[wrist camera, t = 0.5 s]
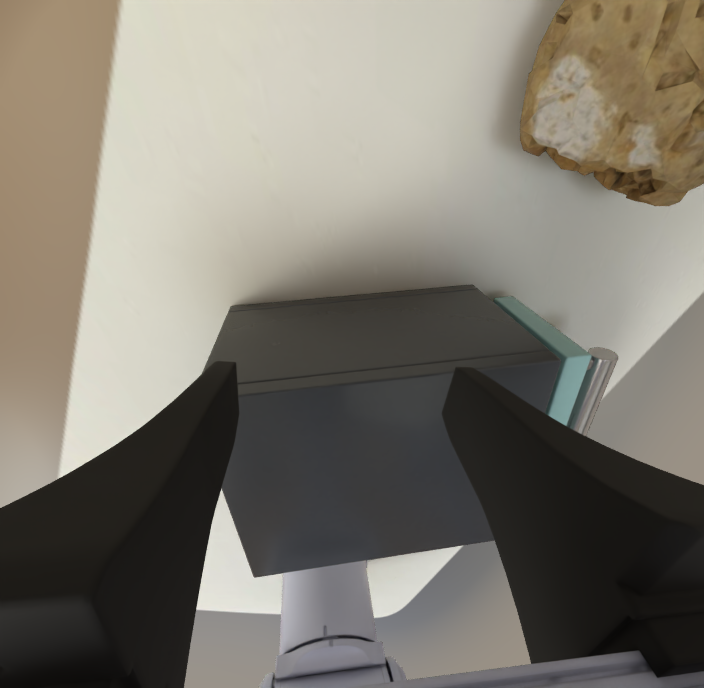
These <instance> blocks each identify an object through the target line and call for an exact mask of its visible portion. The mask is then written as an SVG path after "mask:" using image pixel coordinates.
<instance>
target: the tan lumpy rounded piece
mask: <svg viewBox="0 0 704 688" xmlns="http://www.w3.org/2000/svg"><path fill="white" fill-rule="evenodd" d="M520 141H521V144H522V147H523V150H524V151H526V152H529V153H531V154H534V155H536V156H540V155H541V154H542V153H543V152H544V151H546V152H547V153H548V154H549V156H550V157H551V158H552V159H553V160H554V161H555V163H556V164H557V165H558V166H559V167H560V168H561V169H564V170H572V171H578V172H579V173H581V174H582V175H584V176H585V175H587V174H589V173H592V172H594V177H595V178H596V179H597V180H598V181H599V182H600V183H601V184H602V185H603V186H605V187H606V188H607V189H608V190H611V189H612V190H614V191H617V192H620V193H623V194H626V195H627V197H626V198H628V199H631V200H634V201H638V202H644V203H647V204H651V205H654V206H670V205H673V204H676V203H678V202H680V201H681V200H682V198H683V197H684V196H685V194H686V193H687V192H688V191H689V190H691V189H693V188H695V187H698V186H700V185H702V184H703V183H704V0H565V1H564V2H563V4H562V5H561V7H560V8H559V10H558V11H557V13H556V14H555V16H554V18H553V20H552V22H551V24H550V26H549V28H548V30H547V32H546V34H545V36H544V38H543V40H542V42H541V44H540V46H539V49H538V52H537V55H536V59H535V62H534V66H533V69H532V72H530V73H529V76H528V81H527V87H526V92H525V98H524V104H523V110H522V116H521V121H520Z"/></svg>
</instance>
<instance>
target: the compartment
mask: <svg viewBox="0 0 704 688" xmlns="http://www.w3.org/2000/svg"><path fill="white" fill-rule="evenodd" d="M215 361H225V362H236V368H237V384H238V400H239V419H238V425H237V431H236V437H235V443H234V446H233V450H232V453H231V457H230V460H229V464H228V467H227V471H226V474H225V477H224V481H223V484H222V491H223V493H224V496H225V499H226V502H227V504H228V507H229V510H230V513H231V516H232V518H233V521H234V524H235V527H236V529H237V532H238V535H239V538H240V540H241V543H242V546H243V549H244V551H245V554H246V557H247V560H248V563H249V565H250V568H251V571H252V574H253V576H254V577H262V576H268V575H274V574H281V573H287V572H294V571H300V570H307V569H313V568H320V567H326V566H333V565H339V564H346V563H352V562H358V561H365V560H371V559H378V558H384V557H391V556H397V555H404V554H410V553H417V552H423V551H430V550H436V549H443V548H449V547H455V546H462V545H468V544H475V543H481V542H488V541H494V537H493V534H492V531H491V529H490V526H489V523H488V521H487V518H486V515H485V513H484V510H483V508H482V506H481V503H480V501H479V499H478V497H477V495H476V493H475V491H474V488H473V486H472V484H471V482H470V480H469V478H468V476H467V474H466V472H465V470H464V468H463V466H462V464H461V462H460V460H459V458H458V456H457V454H456V452H455V450H454V447H453V445H452V443H451V441H450V439H449V436H448V433H447V430H446V427H445V423H444V420H443V417H442V410H443V407H444V404H445V400H446V397H447V394H448V391H449V387H450V384H451V381H452V377H453V374H454V371H455V368H456V367H472V368H474V369H476V370H478V371H480V372H481V373H483V374H485V375H486V376H488V377H489V378H491V379H493V380H494V381H496V382H497V383H499V384H500V385H502V386H503V387H505V388H506V389H508V390H509V391H511V392H512V393H514V394H515V395H517V396H518V397H520V398H521V399H523V400H524V401H526V402H527V403H529V404H530V405H532V406H534V407H535V408H537V409H538V410H540V411H542V412H543V413H545V412H546V408H547V405H548V402H549V399H550V396H551V392H552V389H553V386H554V383H555V380H556V377H557V373H558V370H559V367H560V364H561V359H560V358H558V357H557V356H556V355H555V354H554V353H553V352H551V351H549V349H548V348H547V347H546V346H544V345H543V344H542V343H541V342H540V341H539V340H537V339H536V338H535V337H534V336H533V335H531V334H530V333H529V332H528V331H527V330H526V329H524V328H523V327H522V326H521V325H520V324H519V323H517V322H516V321H515V320H514V319H513V318H511V317H510V316H509V315H508V314H507V313H506V312H504V311H503V310H502V309H501V308H500V307H498V306H497V305H496V304H495V303H494V302H493V301H491V300H490V299H489V298H488V297H487V296H485V295H484V294H483V293H482V292H481V291H480V290H478V289H477V288H476V287H475V286H474V285H464V286H452V287H441V288H430V289H419V290H408V291H397V292H385V293H374V294H363V295H352V296H341V297H330V298H319V299H307V300H296V301H285V302H274V303H263V304H252V305H240V306H231V307H230V309H229V311H228V314H227V316H226V318H225V321H224V323H223V325H222V328H221V330H220V332H219V335H218V337H217V340H216V342H215V344H214V347H213V349H212V351H211V354H210V356H209V358H208V361H207V363H206V365H205V368H204V370H203V372H204V371H205V370H206V369H208V368H209V367H210V366H211V365H212V364H213V363H214V362H215ZM203 372H202V373H203Z"/></svg>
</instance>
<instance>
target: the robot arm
mask: <svg viewBox="0 0 704 688" xmlns="http://www.w3.org/2000/svg"><path fill="white" fill-rule="evenodd" d="M442 417H443V420H444V423H445V427H446V430H447V433H448V436H449V439H450V441H451V443H452V445H453V447H454V450H455V452H456V454H457V456H458V458H459V460H460V462H461V464H462V466H463V468H464V470H465V472H466V474H467V476H468V478H469V480H470V482H471V484H472V486H473V488H474V491H475V493H476V495H477V497H478V499H479V501H480V503H481V506H482V508H483V510H484V513H485V515H486V518H487V521H488V523H489V526H490V529H491V531H492V534H493V537H494V540H495V542H496V545H497V548H498V551H499V554H500V557H501V560H502V563H503V566H504V569H505V572H506V575H507V578H508V582H509V585H510V588H511V592H512V595H513V598H514V602H515V605H516V608H517V612H518V615H519V619H520V623H521V626H522V630H523V633H524V637H525V641H526V645H527V648H528V652H529V656H530V660H531V664H528V665H520V666H513V667H506V668H497V669H489V670H481V671H474V672H466V673H458V674H450V675H442V676H435V677H427V678H419V679H411V680H407V679H406V676H405V673H404V671H403V669H402V667H400V665H399V664H398V663H397V662H396V660H395V659H394V658H393V657H391V656H389V657H385V654H384V648H383V642H381V641H380V642H377V636H376V629H375V622H374V616H373V609H372V602H371V596H370V589H369V582H368V576H367V569H366V568H367V560H365V561H358V562H352V563H346V564H339V565H333V566H326V567H320V568H313V569H307V570H300V571H294V572H287V573H283V584H282V607H281V631H280V654H279V655H278V656H277V657H276V670H275V674H274V673H268V674H266V675H265V677H264V680H263V681H262V683H261V684H260V685H259V687H258V688H704V485H702V484H699V483H696V482H692V481H690V480H687V479H684V478H682V477H679V476H676V475H674V474H671V473H668V472H666V471H663V470H660V469H658V468H655V467H653V466H650V465H648V464H645V463H643V462H640V461H637V460H635V459H633V458H631V457H629V456H626V455H624V454H622V453H619V452H617V451H615V450H613V449H611V448H608V447H606V446H604V445H602V444H600V443H598V442H596V441H594V440H592V439H590V438H588V437H586V436H584V435H582V434H580V433H578V432H577V431H575V430H573V429H571V428H569V427H567V426H565V425H564V424H562V423H560V422H558V421H557V420H555V419H553V418H552V417H550V416H548V415H547V414H545V413H543V412H542V411H540V410H538V409H537V408H535V407H534V406H532V405H530V404H529V403H527V402H526V401H524V400H523V399H521V398H520V397H518V396H517V395H515V394H514V393H512V392H511V391H509V390H508V389H506V388H505V387H503V386H502V385H500V384H499V383H497V382H496V381H494V380H493V379H491V378H489V377H488V376H486V375H485V374H483V373H481V372H480V371H478V370H476V369H474V368H472V367H456V368H455V371H454V374H453V377H452V381H451V384H450V387H449V391H448V394H447V397H446V400H445V404H444V407H443V410H442ZM238 419H239V400H238V384H237V368H236V362H225V361H215V362H214V363H213V364H212V365H211V366H210V367H209V368H208V369H206V370H205V371H204V372H203V373H202V374H201V375H200V376H199V377H198V378H197V379H196V380H195V381H194V382H193V383H192V384H191V385H190V386H189V387H188V388H187V389H186V390H185V391H184V392H183V393H181V394H180V395H179V396H178V397H177V398H176V399H175V400H174V401H173V402H172V403H170V404H169V405H168V406H167V407H166V408H164V409H163V410H162V411H161V412H160V413H158V414H157V415H156V416H155V417H154V418H152V419H151V420H150V421H149V422H147V423H146V424H145V425H144V426H142V427H141V428H139V429H138V430H137V431H135V432H134V433H132V434H131V435H130V436H128V437H127V438H125V439H124V440H122V441H121V442H119V443H118V444H116V445H115V446H113V447H112V448H110V449H109V450H107V451H105V452H104V453H102V454H100V455H99V456H97V457H95V458H94V459H92V460H90V461H89V462H87V463H85V464H84V465H82V466H80V467H79V468H77V469H75V470H74V471H72V472H70V473H68V474H67V475H65V476H63V477H61V478H59V479H57V480H55V481H54V482H52V483H50V484H48V485H46V486H44V487H42V488H40V489H38V490H36V491H34V492H32V493H30V494H28V495H27V496H25V497H22V498H21V499H19V500H16V501H14V502H12V503H10V504H8V505H6V506H4V507H2V508H0V688H184V682H185V676H186V669H187V663H188V656H189V649H190V643H191V637H192V631H193V625H194V618H195V612H196V607H197V601H198V595H199V589H200V584H201V578H202V572H203V567H204V561H205V556H206V550H207V545H208V540H209V535H210V529H211V524H212V520H213V516H214V512H215V508H216V505H217V501H218V498H219V494H220V491H221V488H222V484H223V481H224V477H225V474H226V471H227V467H228V464H229V460H230V457H231V453H232V450H233V446H234V443H235V437H236V431H237V425H238Z"/></svg>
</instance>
